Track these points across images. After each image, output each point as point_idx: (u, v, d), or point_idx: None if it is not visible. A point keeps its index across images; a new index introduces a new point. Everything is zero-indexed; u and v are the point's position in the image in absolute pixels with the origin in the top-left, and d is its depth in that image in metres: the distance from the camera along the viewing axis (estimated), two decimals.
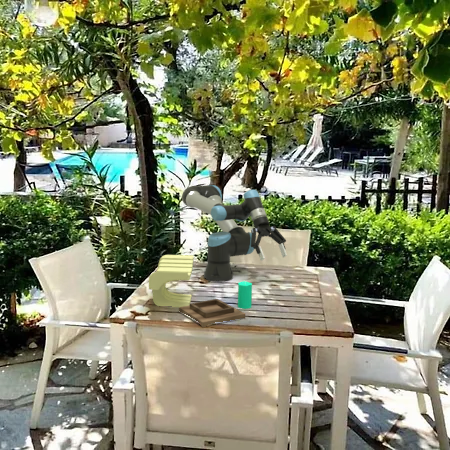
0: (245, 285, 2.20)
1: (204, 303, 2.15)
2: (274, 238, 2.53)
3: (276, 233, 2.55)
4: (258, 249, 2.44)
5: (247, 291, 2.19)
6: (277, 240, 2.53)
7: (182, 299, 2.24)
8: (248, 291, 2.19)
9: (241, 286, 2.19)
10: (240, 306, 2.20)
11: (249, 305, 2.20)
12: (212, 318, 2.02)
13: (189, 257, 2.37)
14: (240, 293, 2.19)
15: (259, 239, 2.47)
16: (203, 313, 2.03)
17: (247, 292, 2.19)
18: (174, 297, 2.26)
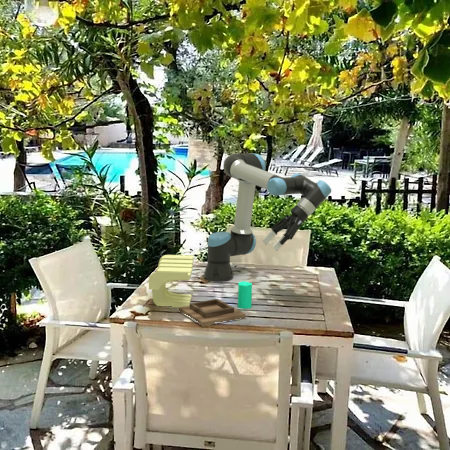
0: (245, 285, 2.20)
1: (204, 303, 2.15)
2: (281, 227, 2.26)
3: None
4: None
5: (247, 291, 2.19)
6: (278, 229, 2.27)
7: (182, 299, 2.24)
8: (248, 291, 2.19)
9: (241, 286, 2.19)
10: (240, 306, 2.20)
11: (249, 305, 2.20)
12: (212, 318, 2.02)
13: (189, 257, 2.37)
14: (240, 293, 2.19)
15: None
16: (203, 313, 2.03)
17: (247, 292, 2.19)
18: (174, 297, 2.26)
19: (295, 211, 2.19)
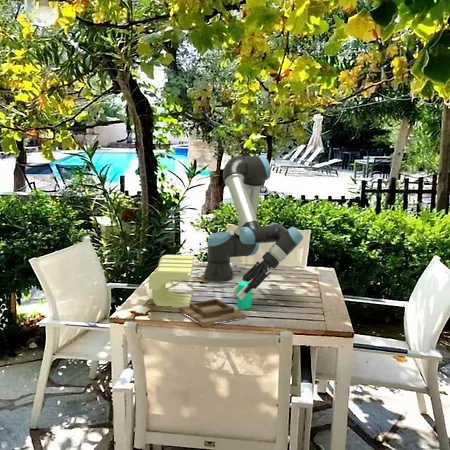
0: (245, 284, 2.20)
1: (204, 303, 2.15)
2: (252, 275, 2.24)
3: None
4: None
5: None
6: (250, 278, 2.24)
7: (182, 299, 2.24)
8: None
9: (241, 286, 2.19)
10: (240, 306, 2.20)
11: (249, 305, 2.20)
12: (212, 318, 2.02)
13: (189, 257, 2.37)
14: None
15: None
16: (203, 313, 2.03)
17: None
18: (174, 297, 2.26)
19: (266, 258, 2.19)
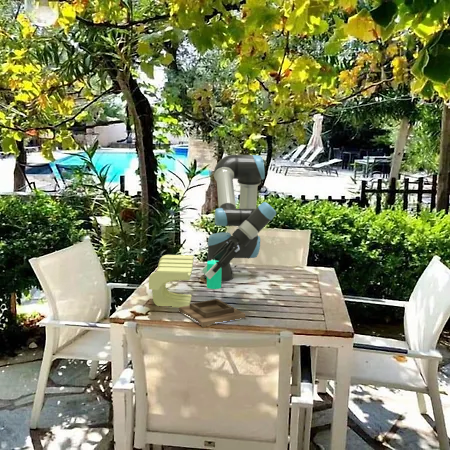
0: (214, 263, 2.07)
1: (204, 303, 2.15)
2: (222, 253, 2.10)
3: None
4: (217, 269, 2.04)
5: None
6: (219, 256, 2.11)
7: (182, 299, 2.24)
8: None
9: (210, 265, 2.05)
10: (209, 286, 2.07)
11: (218, 285, 2.07)
12: (212, 318, 2.02)
13: (189, 257, 2.37)
14: None
15: None
16: (203, 313, 2.03)
17: None
18: (174, 297, 2.26)
19: (236, 235, 2.06)
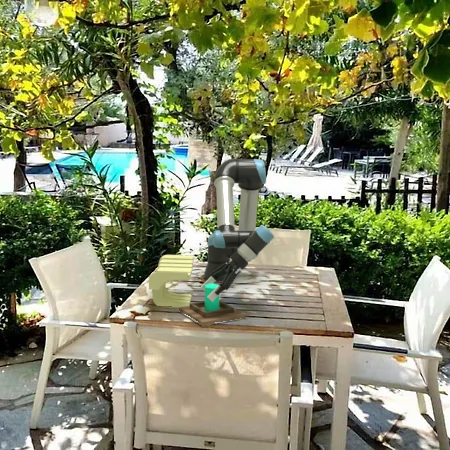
0: (211, 287, 2.09)
1: (204, 303, 2.15)
2: (220, 273, 2.14)
3: None
4: None
5: None
6: (218, 275, 2.15)
7: (182, 299, 2.24)
8: None
9: (207, 289, 2.07)
10: (207, 310, 2.09)
11: (216, 309, 2.09)
12: (212, 318, 2.02)
13: (189, 257, 2.37)
14: (207, 296, 2.08)
15: None
16: (203, 313, 2.03)
17: None
18: (174, 297, 2.26)
19: (234, 258, 2.07)
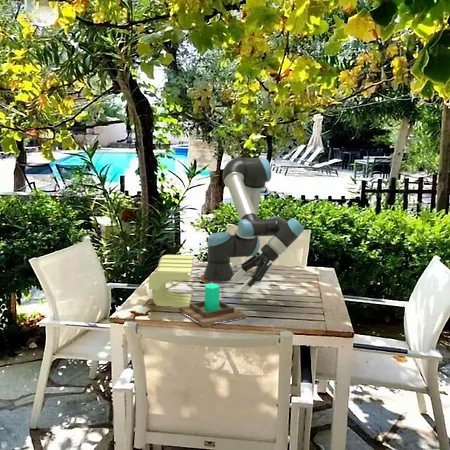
0: (211, 287, 2.09)
1: (204, 303, 2.15)
2: (250, 265, 2.17)
3: None
4: None
5: (214, 294, 2.07)
6: (248, 267, 2.18)
7: (182, 299, 2.24)
8: (215, 294, 2.07)
9: (208, 289, 2.07)
10: (207, 310, 2.09)
11: (216, 309, 2.09)
12: (212, 318, 2.02)
13: (189, 257, 2.37)
14: (207, 296, 2.08)
15: None
16: (203, 313, 2.03)
17: (214, 295, 2.07)
18: (174, 297, 2.26)
19: (265, 251, 2.10)
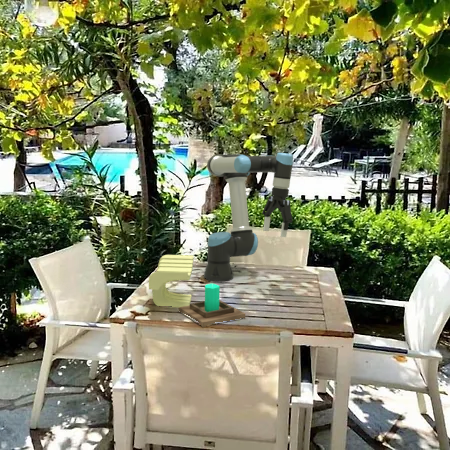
0: (211, 287, 2.09)
1: (204, 303, 2.15)
2: (271, 210, 2.35)
3: (270, 204, 2.37)
4: None
5: (214, 294, 2.07)
6: (270, 212, 2.37)
7: (182, 299, 2.24)
8: (215, 294, 2.07)
9: (208, 289, 2.07)
10: (207, 310, 2.09)
11: (216, 309, 2.09)
12: (212, 318, 2.02)
13: (189, 257, 2.37)
14: (207, 296, 2.08)
15: None
16: (203, 313, 2.03)
17: (214, 295, 2.07)
18: (174, 297, 2.26)
19: (277, 194, 2.27)
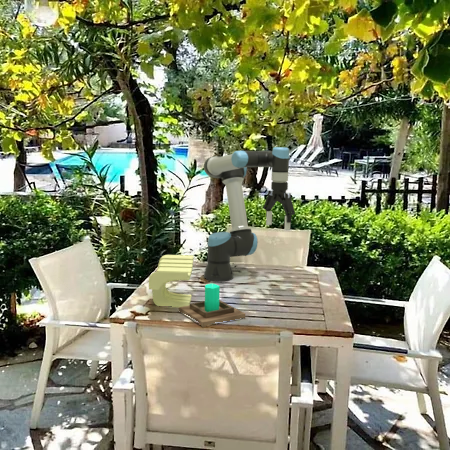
0: (211, 287, 2.09)
1: (204, 303, 2.15)
2: (272, 204, 2.39)
3: (270, 198, 2.41)
4: None
5: (214, 294, 2.07)
6: (271, 207, 2.41)
7: (182, 299, 2.24)
8: (215, 294, 2.07)
9: (208, 289, 2.07)
10: (207, 310, 2.09)
11: (216, 309, 2.09)
12: (212, 318, 2.02)
13: (189, 257, 2.37)
14: (207, 296, 2.08)
15: None
16: (203, 313, 2.03)
17: (214, 295, 2.07)
18: (174, 297, 2.26)
19: (277, 188, 2.31)
